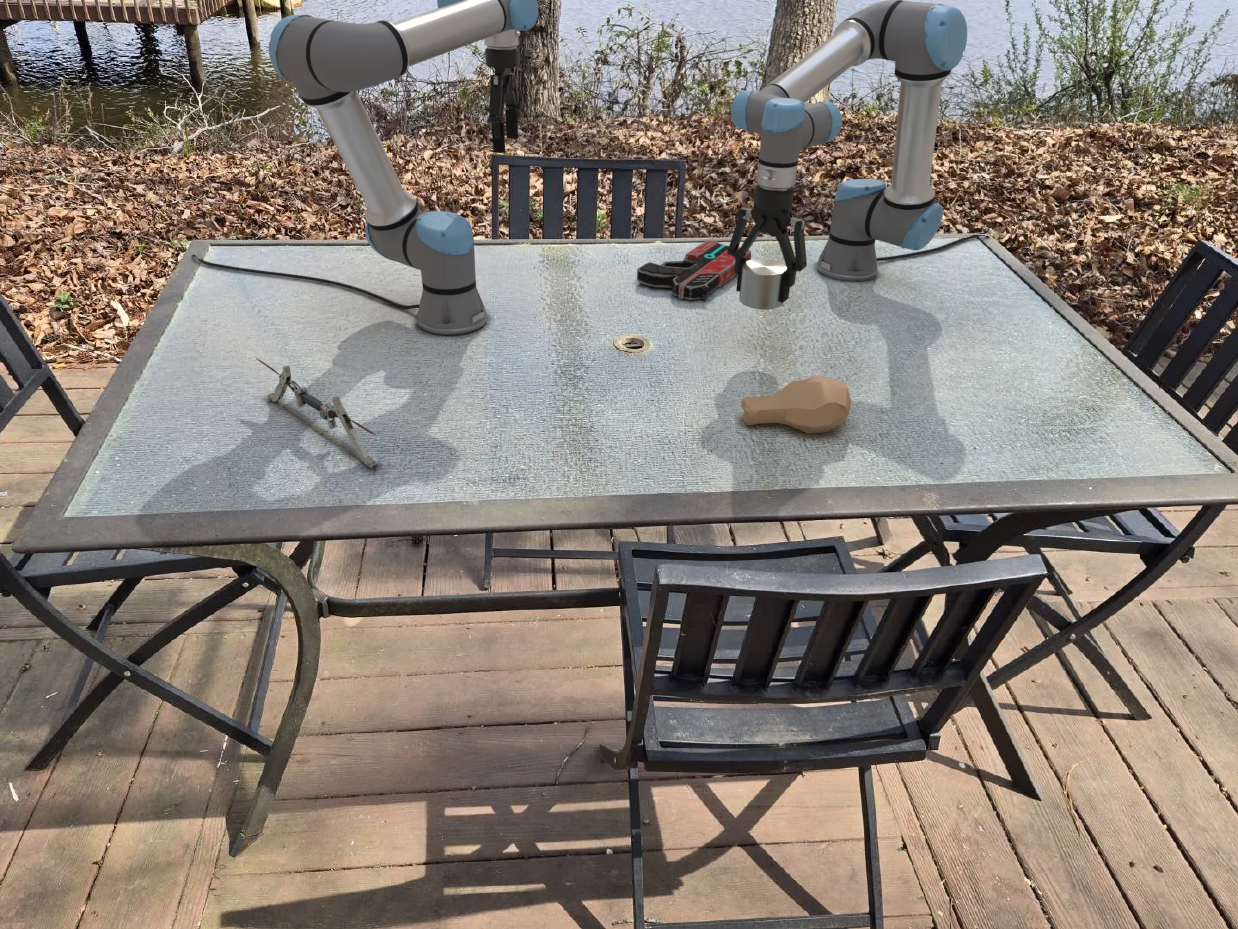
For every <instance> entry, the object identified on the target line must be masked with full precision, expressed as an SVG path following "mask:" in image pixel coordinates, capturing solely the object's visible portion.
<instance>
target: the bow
mask: <svg viewBox="0 0 1238 929" xmlns="http://www.w3.org/2000/svg"><path fill="white" fill-rule="evenodd" d="M255 359H256V360H257V361H258V362H259V363H261V364H262V365H264V367H266V368H268V369H269V370H271V371H272V372H274V373H275V374H277V375H278V384H277V385H276V386H275V388H274V390H273V392H271V393H269V394H267V395H266V396H267V398H268V400H269V401H272V402H273V403H275V402H277V403H278V404H280V405H281V406H282V407H284V408H285V409H287V410H288V411H290V412H292V413H293V414H294V415H296V416H297V417H299V418H300V419H302V420H303V421H305V422H306V423H308V424H309V425H310V426H312V427H313V428H315V429H316V430H318V431H319V432H321V434H322V433H323V434H324V435H325V436H327V437H328V438H330V439H332V441H334V442H336V443H337V444H338V445H339V446H341V447H342V448H345V449H346V450H347V451H349V452H350V453H351V454H353V455H355V456H356V457H358V458H359V459H361V461H362V462H363V463H364V464H365V465H366V466H367V467H368V468H370V469H372V468H373V467H374V466H378V463H377V462H376V460H374V458H372V457H371V455H370V454H369V453H368V451H367V449H366V447H365V445H364V443H363V442H362V440H361V438H360V436H359V434H358V433H357V431H356V429H355V426H354V425H353V424H355V425H356V426H358V428H360V429H361V430H364V431H365V432H368V433H369V434H370V435H373V436H376V433H375V432H373V431H372V430H370V429H369V428H367V427H365V426H364V425H362V424H360V423H358V422H357V421H354V420H352V418H351V417H350V415H349V414H348V412H347V410H346V409H345V407H344V405H343V403H342V401H341V399H340V397H339V396H338V395H336V396H333V397H332V398H331V399H332V403H331V402H328V403H325V404H324V403H323V402H322V401H321V400H320V399H318V398H317V397H316V396H313V395H312V394H309V392H308V389H307V387H306V386H302V387H301V386H300V385H299V384H298V383H297V382H296V381H295V380H292V372H291V368H290V365H284V366H283V367H282V372H281V373H279V372H278V371H277V370H275V368H273V367H271V366H270V365H269V364H267V363H266V362H264V361H263V360H261V359H259V358H258V357H255ZM288 387H289V389H290V390H291V391H292V392H293V394H294V396H295V398H296V406H297V408H298V409H301V408H302V407H306V405H308V406H309V407H311V408H312V409H314V410H315V411H317V412H319V416H320V418H321V420H324V421H326V422H327V425H328V429H330V430H333V429H336V428H337V427H338V425H337V422H336V420H335V418H338V420H339V421H340V423H341V425H342V427H343V429H344V430H345V432H346V434H347V436H348V438H349V440H350V442H351V444H352V445H353V447H354V449H355V451H356V452H354V451H353V450H351V449H350V448H348V447H346V446H345V445H344V444H343V443H340V441H338V440H336V439H335V438H333V437H332V436H330V435H329V434H328V433H326V432H324V431H323V430H321V429H320V428H318V427H317V426H316V425H314V424H313V423H312V422H310V421H308V420H307V419H306V418H304V417H302V416H301V415H300V414H298V413H297V412H295V411H293V410H292V409H290V408H289V407H288V406H286V405H284V403H282V402H280V400H282V399H283V398H284V395H285V394H286V393H287V389H288Z"/></svg>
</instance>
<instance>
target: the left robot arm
mask: <svg viewBox="0 0 1238 929" xmlns="http://www.w3.org/2000/svg"><path fill="white" fill-rule="evenodd" d="M436 3H437V8H435V9H432V10H430V11H426V12H423V13H419V14H417V15H414V16H411V17H408V18H405V19H402V20H399V21H398V20H397V21H396V22H390V21H389V20H386V19H380V20H377V21H374V22H370V23H355V22H354V23H353V22H344V21H339V20H331V19H326V18H319V17H314V16H312V15H309V14H291V15H287V16H286V17H283V18H282V19H280V20H279V21H278V22H277V23H276V25H275V26H274V27H273V29H272V31H271V33H270V40H269V42H268V56H269V59H270V60H269V61H270V63H271V65H272V67H273V68H274V70H275V71H276V73H277V74H278V75H279V76H281V78H283V79H284V80H285V81H287V82H292V83H293V85H294V87H295V89H296V90H297V93H298V94H299V96H300V98H301V101H302V102H303V104H304V105H305V106H307V107H310V108H312V109H315V110H316V111H317V113H318V115H319V117H320V119H321V121H322V122H323V125H324V127H325V128H326V131H327V133H328V135H329V136H330V139H331V140H332V142H333V144H334V146H335V148H336V149H337V152H338V154H339V156H340V157H341V159H342V161H343V164H344V165H345V167H346V169H347V171H348V173H349V174H350V176H351V179H352V180H353V182H354V185H355V187H356V188H357V190H358V192H359V194H360V196H361V198H362V200H363V202H364V203H365V205H366V209H365V211H364V212H365V213H364V219H365V225H366V226H365V228H364V234H365V237H366V241H367V242H368V244H369V246H370V247H371V248H372V250H373V251H375V253H376V254H379V256H382V257H383V258H384V259H387V260H389V261H394V262H397V263H399V264H402V265H405V266H408V267H410V268H413V269H416V270H418V271H420V275H421V276H420V277H421V284H422V292H421V297H420V302H419V304H411V305H405V304H401V303H398V302H395V301H393V300H391V299H389V298H386V297H383V296H381V295H379V294H376V293H374V292H371V291H368V290H367V289H362V288H361V287H357V286H353V285H349V284H346V283H343V282H339V281H334V280H329V279H324V278H321V277H320V278H319V277H313V276H307V275H300V274H293V273H284V272H277V271H268V270H259V269H253V268H246V267H238V266H232V265H227V264H226V265H225V264H220V263H214V262H209V261H206V260H204V259H203V258H202V260H200V259H198V258H197V260H198V261H199V262H200V263H202V264H204V265H206V266H209V267H214V268H220V269H225V270H232V271H239V272H246V273H251V274H261V275H269V276H278V277H284V278H292V279H299V280H307V281H313V282H319V283H323V284H329V285H332V286H338V287H342V288H345V289H349V290H353V291H355V292H359V293H362V294H365V295H368V296H370V297H372V298H374V299H378V300H379V301H383V302H384V303H387V304H389V305H392V306H393V307H397V308H400V309H402V310H403V309H404V310H412V309H418V310H417V317H416V318H417V325H418V326H419V328H420V329H421V330H423V331H424V332H427V333H430V334H433V335H440V336H459V335H465V334H469V333H473V332H476V331H477V330H480V329H481V328H483V327H484V326H485V325H486V323H487V320H488V316H487V310H486V306H485V304H484V302H483V299H482V298H481V295H480V293H479V291H478V288H477V278H476V277H477V276H476V258H475V257H476V256H475V238H474V236H473V228H472V225H471V223H470V221H469V220H467V218H466V217H464V216H462V215H461V214H458V213H455V212H451V211H443V210H431V211H427V212H424V213H423V212H422V210H421V207H420V205H419V203H418V200H417V199H416V197H415V195H414V194H413V193H412V192H410V191H406V190H404V188H403V185H402V184H401V181H400V180H399V176H398V175H397V173H396V171H395V168H394V166H393V165H392V162H391V161H390V160H391V159H390V158H389V157H388V154H387V152H386V149H385V148H384V146H383V144H382V141H381V140H380V137H379V135H378V134H377V131H376V129H375V126H374V125H373V122H372V121H371V119H370V116H369V114H368V112H367V110H366V108H365V106H364V104H363V101H362V100H361V97H360V95H359V93H358V91H362V90H367V89H369V88H372V87H376V86H379V85H381V84H383V83H386V82H390V81H392V80H394V79H396V78H400V77H403V76H404V75H406V73H407V72H408V70H409V67H412V66H415V65H418V64H420V63H422V62H426V61H428V60H431V59H433V58H436V57H439V56H441V55H444V54H448V53H450V52H453V51H455V50H458V49H461V48H463V47H466V46H469V45H471V44H474V43H477V42H479V41H480V42H481V41H482V40H483V42H484V46H486V47H485V49H484V56H485V57H484V58H485V66H486V67H488V68H493V70H494V73H493V74H491V75H490V76H489V79H490V93H489V108H488V118H487V123H488V124H491V132H492V133H491V135H492V153H498V154H499V153H500V154H506V139H514V140H515V139H519V123H518V121H519V120H518V110H521V107H522V106H521V104H520V98H519V91H518V85H517V80H516V68H518V66H519V65H520V51H519V49H518V45H519V37H520V36H521V31H529V30H531V29H532V28H533V27H534V26H535V24H536V22H537V21H538V18H539V5H538V0H437V1H436ZM505 106H506V109H505ZM504 113H505V122H504ZM505 129H506V130H505ZM505 131H506V133H505Z"/></svg>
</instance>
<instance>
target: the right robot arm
mask: <svg viewBox="0 0 1238 929" xmlns="http://www.w3.org/2000/svg"><path fill="white" fill-rule="evenodd" d="M967 42H968V24H967V20H966V17H965V15H964V14H963V13H962V11H961V10H960V9H959V8H957V7H954V6H950V5H945V4H943V3H931V2H919V1H910V0H883V1H879V2H876V3H874V4H871V5H869V6H867V7H864V8H862V9H860V10H859V11H857V12H854V13H853V14H852V15H850V16H848V17H847V18H846V19H844V20H843V21H841V22H840V23H838V25H837V26H836V27H835V29H834V31H833V33H832V35H831V36H829V37H828V38H827V39H826V40H824V41H823V42H822V43H820V44H819V45H818V46H817V47H815V48H813V50H811V51H810V52H809V53H807V54H806V55H805V56H803V57H802V58H800V59H799V60H798V61H797V62H795V63H794V64H793V65H791V66H790V67H789V68H788V69H786V70H785V71H783V73H781V74H780V75H778V76H777V77H776V78H774V79H773V80H772V81H771V82H769V83H768V84H767V85H766V86H765V87H762V88H761V89H759V91H755V90H753V89H751V90H747V89H746V90H741V91H740V92H739V93H738V94H736V95H735V97H734V99H733V101H732V103H731V108H730V117H731V122H732V124H733V125H734V127H735V128H737V129H739V130H743V131H746V132H748V133H753V134H757V135H760V142H759V154H758V160H757V169H756V178H755V181H756V185H755V188H754V197H753V207H752V208H749V207H748V206H743V207H741V208H739V209H738V210H737V221H736V224H735V228H734V229H733V233H732V235H731V239H730V242H729V245H728V246H729V248H728V251H727V253H728V255H732V256H734V257H735V269H734V272H735V274H736V275H737V280H736V288H735V291H736V292H739V293H740V287H741V277H742V267H743V263H744V262H746V261H748V258H746V257H745V258H744V256H745V255H746V253H747V252H748V250H750V249H751V247H752V246H753V244H754V243H755V241H756V240H757V238H758V236H759V235H760V234H769V235H771V236H774V237H775V239H776V241H777V242H778V245H779V248H780V252H781V254H782V257H783V260H784V264H785V265H786V266H787V270H785V271H784V273H783V281H782V288H781V296H780V302H782V303H783V304H784V303H785V302H786V301H788V299H789V298H790V289H791V288H792V287H793V286H794V285H795V284H796V278H797V272H802V271H803V270H805V269H806V268H807V267H808V262H807V250H806V236H805V228H806V224H807V219H806V218H804V217H803V218H797V217H795V216H793V213H792V212H793V211H792V209H793V203H794V196H795V188H794V187H795V185H796V184H797V183H796V182H797V174H798V164H799V157H800V153H801V152H800V151H801V150H804V149H808V148H811V147H816V146H822V145H824V144H826V143H828V142H831V141H833V140H834V139H836V137H837V136H838V135H839V134H840V132H841V129H842V126H843V116H842V113H841V110H840V108H838V106H837V105H836V104H834V103H833V102H831V101H817V102H815V103H811V102H808V101H809V100H811V99H812V98H813V97H815V96H816V95H817V94H818V93H820V92H821V91H822V90H823V89H824V88H826V87H827V86H828V85H830V84H831V83H833V81H835V80H836V79H837V78H839V77H840V76H841V75H843V74H844V73H845V72H846V71H848V70H849V69H850V68H852V67H858V66H861V65H863V64H864V63H866V62H867V61H869V60H885V61H891V62H894V77H895V78H896V79H897V80H898V81H899V82H900V88H899V97H898V98H899V99H898V110H897V120H896V129H895V130H896V131H895V139H894V150H893V151H894V152H893V162H892V172H891V184H890V185H888V186H887V183H886V182H885V181H883V180H881V179H876V178H856V179H849V180H845V181H843V182H841V183H840V184H839V185H838V186H837V189H836V192H835V197H834V199H833V202H834V203H833V208H832V209H833V210H832V216H831V221H830V226H829V227H830V229H829V235H828V240H827V241H826V244H825V246H824V247H823V249H822V251H821V253H820V255H819V257H818V260H817V264H816V269H817V271H818V272H820V274H822V275H824V276H825V277H828V278H830V279H834V280H838V281H845V282H862V281H863V282H864V281H868V280H871V279H874V278H875V277H876V276H877V272H878V262H883V261H892V260H899V259H904V258H905V259H906V258H909V257H915V256H920V255H925V254H931V253H934V252H939V251H941V250H944V249H947V248H950V247H952V246H954V245H957V244H959V243H962V242H964V241H968V240H971V239H976V238H978V237H985V238H986V239H990V238H991V237H990V235H989V234H988V233H987V232H978V233H977V234H987V235H989V236H985V235H975V234H972V235H969V236H970V237H967V236H966V237H967V238H964V237H961V238H958V239H957V240H954V241H951V242H949V243H946V244H944V245H941V246H938V247H935V248H930V249H925V250H922V249H924V248H926V247H927V246H928V245H929V243H930V242H931V241H932V240H933V238H934V237H935V235H936V234H937V232H938V230H939V228H940V225H941V223H942V220H943V216H944V209H943V206H942V205H941V204H940V203H938V202H935V198H936V190H935V188H934V187H933V186H932V185H931V175H932V169H933V159H934V154H935V153H934V151H935V144H936V135H937V128H938V119H939V111H940V105H941V95H942V88H943V82H944V81H945V80H946V79H947V78H948V77H949V76H951V74H952V70H953V69H955V68H956V67H957V66H958V65H959V64H960V62H961V60H962V59H963V56H964V54H963V53H964V52H965V51H966V47H967ZM750 218H752V220H753V222H754V225H753V226H752V228H751V230H750V231H749V233H748V234H747V237H746V238H745V240H744V241H743V242H742V240H743V235H744V232H745V229H746V227H747V224H748V220H749V219H750ZM789 225H791V229H792V230H793V244H794V248H793V245H792V243H791V239H790V237H789V236H790V233H789V230H788V226H789ZM876 241H880V242H883V243H886V244H890V245H892V246H896V247H899V248H901V249H906V250H911V251H913V252H909V253H904V254H898V255H892V256H891V255H890V256H881V257H877V252H876ZM741 242H742V244H741ZM740 244H741V246H740ZM738 247H740V249H738ZM914 251H915V252H914Z"/></svg>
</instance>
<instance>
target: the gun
mask: <svg viewBox="0 0 1238 929" xmlns="http://www.w3.org/2000/svg"><path fill="white" fill-rule="evenodd" d="M740 247H741V246H739V247H738V249H740ZM728 248H729V245H728V244H722V243H719V241H718V240H714V239H713V240H712V239H706V240H705V241H704V242H702V243H700V244H699V245H697V246H696V247H694V248H692V249H691V250H689V251H688V252H687V253H685V255H684V258H683V260H667V261H664V262H662V263H660V264H657V263H655V262H652V261H648V262H646V263H645V264H643V265H641V266H639V267H637V269H636V270H637V271H636V282H638V283H640V284H642V285H646V286H649V287H653V288H670V289H671V292H672V294H673V296H675V297H678V299H679V300H684V299H685V300H689V301H693V300H703V301H707V300H708V295H709V294H711V293H712V292H713V291H715V290H716V289H717V288H721V287H722V286H724V285H725V284H726V283H727V282H729V281H730V280H732V279H733V278H734V277H735V276H737V274H735V272H734V269H735V257H734V256H732V255H728V253H727V251H728ZM745 257H746V258H748V260H751V259H752V251H751V250H750V249H749V250H748V252H747V253H746V255H745V256H744V258H745Z"/></svg>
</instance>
